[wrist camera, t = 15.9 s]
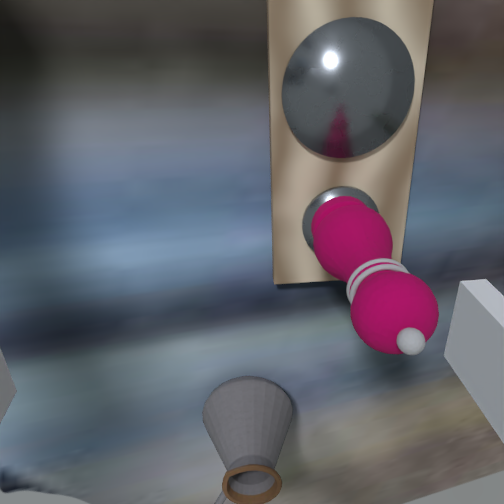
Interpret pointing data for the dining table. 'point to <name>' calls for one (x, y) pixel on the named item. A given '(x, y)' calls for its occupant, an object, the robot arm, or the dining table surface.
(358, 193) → the flange
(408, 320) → the pepper mill
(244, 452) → the coffee pot
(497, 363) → the robot arm
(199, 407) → the dining table surface
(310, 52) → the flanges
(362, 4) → the tan flat board
